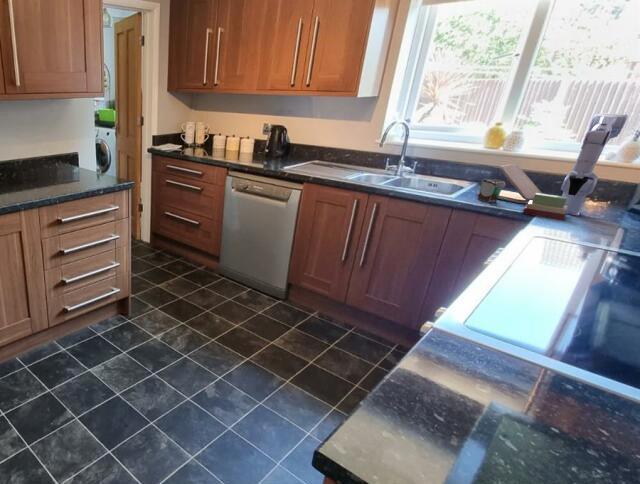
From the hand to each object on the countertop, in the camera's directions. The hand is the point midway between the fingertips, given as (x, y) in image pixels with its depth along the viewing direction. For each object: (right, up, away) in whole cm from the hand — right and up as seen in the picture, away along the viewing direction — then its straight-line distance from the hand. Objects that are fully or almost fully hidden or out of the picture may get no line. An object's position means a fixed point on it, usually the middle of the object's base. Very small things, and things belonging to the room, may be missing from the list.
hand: (571, 194), depth 177 cm
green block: (-4, -4, +6) cm, 8 cm away
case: (+6, +3, +37) cm, 38 cm away
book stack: (-4, -8, +8) cm, 12 cm away
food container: (-10, 0, +28) cm, 30 cm away
